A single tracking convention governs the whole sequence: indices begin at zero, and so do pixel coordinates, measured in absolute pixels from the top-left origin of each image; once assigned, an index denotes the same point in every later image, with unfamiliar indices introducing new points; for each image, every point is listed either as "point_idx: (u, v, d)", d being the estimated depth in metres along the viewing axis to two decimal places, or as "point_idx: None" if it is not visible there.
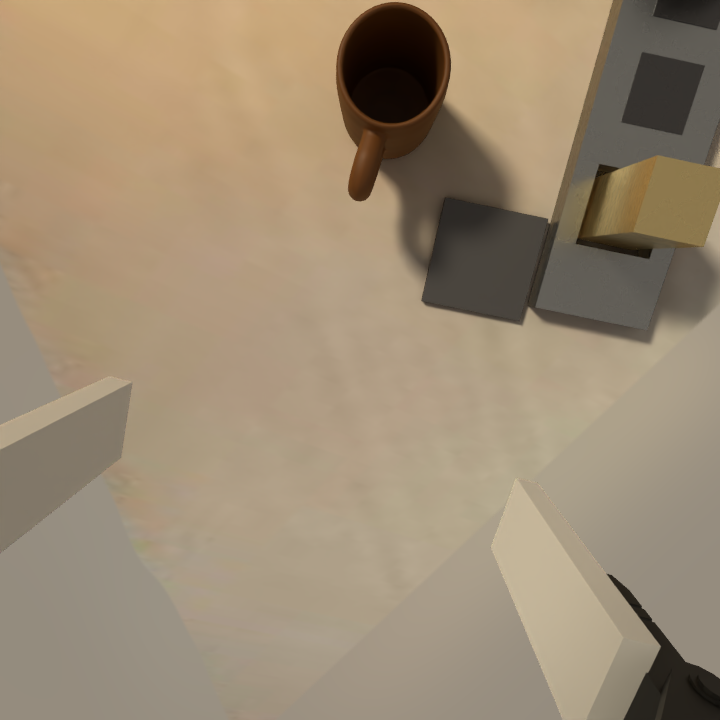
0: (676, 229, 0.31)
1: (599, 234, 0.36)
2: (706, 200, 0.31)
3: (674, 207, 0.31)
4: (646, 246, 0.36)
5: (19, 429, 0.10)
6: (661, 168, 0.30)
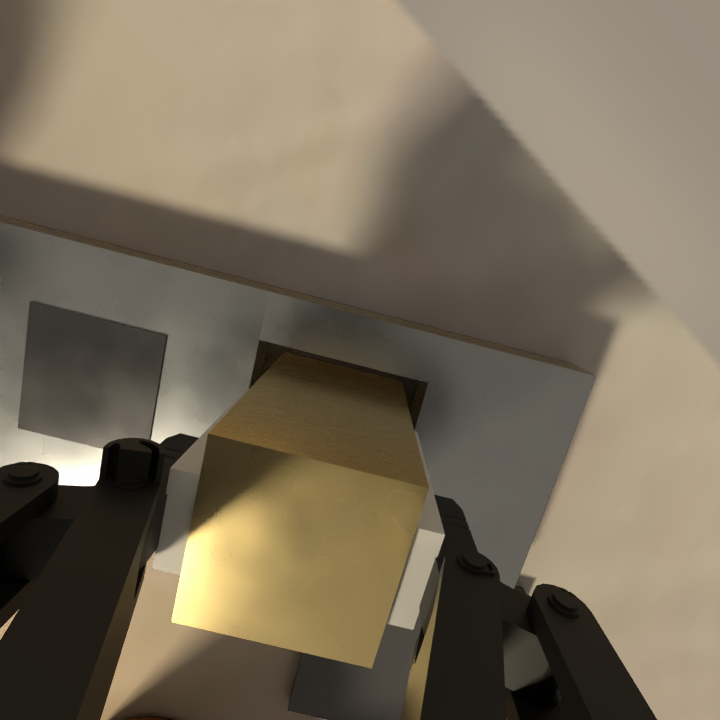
0: (370, 564, 0.10)
1: None
2: (292, 491, 0.10)
3: (309, 574, 0.11)
4: None
5: None
6: (205, 611, 0.11)
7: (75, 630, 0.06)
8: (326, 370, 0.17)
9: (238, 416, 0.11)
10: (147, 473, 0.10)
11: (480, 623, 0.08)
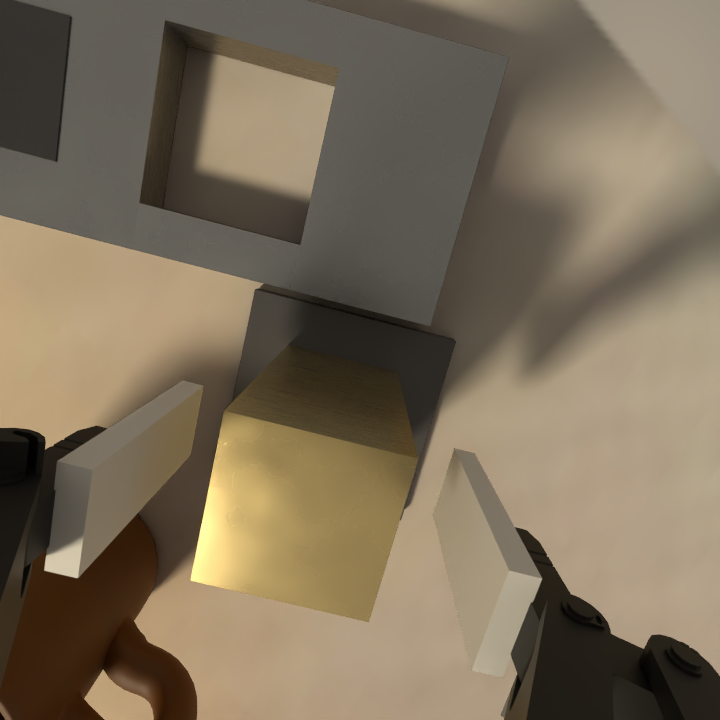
0: (367, 528, 0.12)
1: None
2: (298, 462, 0.12)
3: (313, 537, 0.12)
4: None
5: (130, 429, 0.12)
6: (220, 570, 0.12)
7: None
8: (327, 361, 0.19)
9: (249, 398, 0.13)
10: (25, 465, 0.09)
11: (586, 678, 0.08)
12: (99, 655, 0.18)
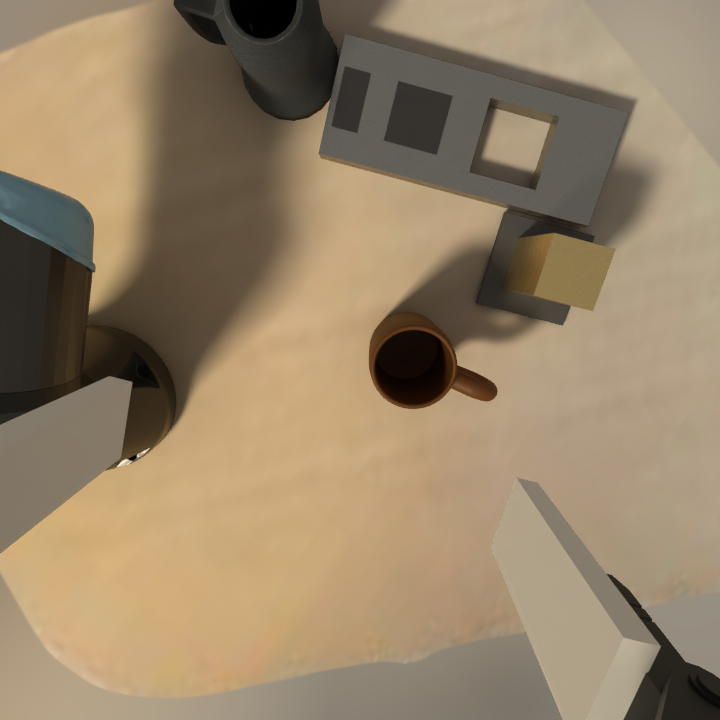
0: (596, 274, 0.36)
1: (566, 304, 0.41)
2: (576, 250, 0.36)
3: (577, 278, 0.36)
4: None
5: (19, 429, 0.10)
6: (544, 291, 0.36)
7: None
8: None
9: None
10: None
11: None
12: None
